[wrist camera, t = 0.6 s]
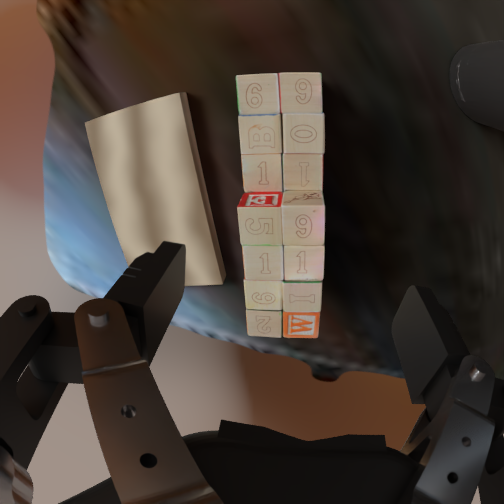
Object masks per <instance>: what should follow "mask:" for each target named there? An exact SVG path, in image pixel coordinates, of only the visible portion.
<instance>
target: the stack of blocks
mask: <svg viewBox="0 0 504 504" xmlns="http://www.w3.org/2000/svg"><path fill="white" fill-rule="evenodd" d="M236 87H237V100H238V110H239V116H238V121H239V133H240V146H241V161H242V173H243V184H244V190H245V193H244V194H243V196H242V198H241V200H240V202H239V204H238V207H237V210H238V220H239V230H240V241H241V245H242V251H243V263H244V274H245V277H244V290H245V301H246V319H247V331H248V335H249V336H264V337H279V338H280V337H282V336H283V337H287V338H317V337H318V332H319V320H320V311H321V298H322V280H323V278H324V258H325V247H324V242H325V203H324V197H323V192H322V191H323V154H324V153H325V115H324V113H323V106H322V74H321V73H308V72H297V73H272V74H251V75H237V76H236Z"/></svg>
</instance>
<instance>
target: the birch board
mask: <svg viewBox="0 0 504 504" xmlns="http://www.w3.org/2000/svg"><path fill="white" fill-rule="evenodd" d="M85 126H86V130H87V134H88V138H89V142H90V146H91V150H92V154H93V158H94V162H95V165H96V169H97V172H98V176H99V180H100V183H101V186H102V190H103V193H104V196H105V200H106V203H107V206H108V209H109V212H110V215H111V218H112V221H113V224H114V227H115V230H116V233H117V236H118V239H119V242H120V245H121V247H122V250H123V253H124V256H125V258H126V261H127V264H128V266H129V265H130V264H131V263H132V262H133V261H134V259H135V258H137V257H139V256H140V255H142V254H144V253H146V252H150V253H154V252H155V251H156V250H157V248H158V247H159V246H160V244H161V243H162V242H163V241H169V242H174V243H180V244H185V246H186V265H185V286H197V285H218V284H223V282H224V280H225V277H226V272H225V267H224V263H223V259H222V255H221V251H220V246H219V242H218V238H217V234H216V229H215V225H214V221H213V216H212V212H211V207H210V203H209V199H208V194H207V190H206V185H205V180H204V176H203V171H202V167H201V162H200V157H199V153H198V148H197V143H196V138H195V134H194V129H193V124H192V119H191V114H190V109H189V104H188V99H187V94H186V92H183V93H176V94H173V95H169V96H165V97H161V98H158V99H154V100H151V101H147V102H144V103H141V104H138V105H134V106H131V107H128V108H125V109H122V110H119V111H116V112H113V113H110V114H107V115H104V116H102V117H99V118H96V119H94V120H91V121H88V122H86V123H85Z"/></svg>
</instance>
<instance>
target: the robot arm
mask: <svg viewBox="0 0 504 504" xmlns="http://www.w3.org/2000/svg"><path fill="white" fill-rule="evenodd" d="M450 85H451V90H452V93H453V95H454V98H455V100H456V102H457V104H458V106H459V107H460V108H461V110H462V111H463V112H464V113H465V114H466V115H467V116H468V117H469V118H470V119H472V120H474V121H475V122H477V123H480V124H483V125H486V126H490V127H493V128H495V129H498V130H501V131H504V40H502V41H493V42H484V43H477V44H471V45H467V46H465V47H463V48H461V49H460V50H459V51H458V52H457V53H456V54H455V56H454V57H453V60H452V62H451V66H450ZM185 265H186V246H185V244H180V243H174V242H169V241H163V242H162V243H161V244H160V246H159V247H158V248H157V250H156V251H155V252H154V253H150V252H146V253H144V254H142V255H140V256H139V257H137V258H135V259H134V261H133V262H132V263H131V264H130V265H129V268H127V269H126V270H125V272H124V273H123V275H121V276H120V278H119V279H118V280H117V281H116V283H115V284H114V285H113V286H112V288H111V289H110V290H109V291H108V293H107V294H106V295H105V297H104V298H98V299H92V300H89V301H87V302H85V303H83V304H82V305H80V306H79V307H78V309H77V310H76V312H75V313H68V312H51V309H50V306H49V303H48V301H47V300H46V299H45V298H43V297H41V296H36V295H30V296H25V297H23V298H20V299H18V300H16V301H15V302H14V303H13V304H12V305H11V306H10V307H9V308H8V309H7V310H6V312H5V313H4V314H3V315H2V316H1V317H0V504H32V498H33V482H32V479H31V477H30V475H29V473H28V472H27V468H28V466H29V464H30V461H31V459H32V457H33V454H34V452H35V450H36V448H37V445H38V443H39V441H40V439H41V437H42V435H43V433H44V431H45V429H46V426H47V424H48V422H49V420H50V418H51V416H52V414H53V412H54V410H55V408H56V406H57V404H58V402H59V400H60V398H61V396H62V394H63V392H64V390H65V389H66V387H67V385H68V383H77V384H84V388H85V392H86V396H87V400H88V404H89V408H90V412H91V416H92V419H93V422H94V426H95V430H96V433H97V436H98V440H99V443H100V446H101V449H102V452H103V455H104V458H105V461H106V464H107V467H108V470H109V473H110V475H111V477H110V478H108V479H106V480H104V481H103V482H101V483H99V484H97V485H95V486H93V487H91V488H89V489H87V490H85V491H83V492H81V493H79V494H77V495H75V496H73V497H71V498H70V499H67V500H65V501H63V502H61V503H58V504H471V502H472V500H473V497H474V494H475V492H476V489H477V486H478V488H479V494H480V501H481V504H504V437H503V434H504V380H501V379H498V378H495V375H494V372H493V370H492V368H491V367H490V365H489V364H488V363H487V362H486V361H485V360H483V359H482V358H480V357H477V356H474V355H470V353H469V351H468V349H467V347H466V345H465V343H464V341H463V339H462V337H461V335H460V333H459V332H458V331H457V328H456V326H455V324H453V320H452V318H451V317H450V315H449V313H448V312H447V311H446V310H445V309H444V308H443V307H442V306H441V305H440V304H439V302H438V301H437V299H436V297H435V295H434V294H433V292H432V290H431V289H430V288H426V287H420V286H414V285H412V286H410V287H409V288H408V289H407V291H406V294H405V296H404V298H403V300H402V302H401V305H400V307H399V309H398V311H397V313H396V315H395V317H394V320H393V323H392V336H393V339H394V342H395V346H396V349H397V352H398V355H399V359H400V362H401V365H402V369H403V372H404V376H405V379H406V383H407V387H408V390H409V394H410V398H411V401H412V404H425V405H426V408H425V409H424V411H423V412H422V413H421V415H420V416H419V418H418V420H417V422H416V424H415V426H414V428H413V430H412V432H411V433H410V435H409V437H408V439H407V440H406V442H405V444H404V446H403V448H402V449H401V450H400V451H398V450H395V449H392V448H390V447H386V441H385V435H349V434H348V435H344V436H338V437H333V438H327V439H320V440H315V441H305V440H301V439H298V438H295V437H292V436H288V435H286V434H283V433H280V432H277V431H274V430H271V429H269V428H266V427H262V426H255V425H249V424H243V423H237V422H232V421H226V420H221V423H220V427H219V431H205V432H198V433H193V434H189V435H186V436H183V437H182V436H181V435H180V433H179V431H178V429H177V427H176V425H175V423H174V421H173V419H172V417H171V415H170V412H169V410H168V408H167V406H166V404H165V402H164V400H163V397H162V395H161V394H160V391H159V389H158V386H157V384H156V382H155V380H154V377H153V375H152V373H151V370H150V368H149V366H150V364H151V362H152V360H153V357H154V356H155V353H156V351H157V349H158V347H159V345H160V343H161V340H162V339H163V336H164V334H165V332H166V330H167V328H168V326H169V324H170V322H171V320H172V318H173V316H174V313H175V311H176V309H177V307H178V305H179V303H180V301H181V299H182V296H183V292H184V286H185ZM27 365H28V366H27ZM26 366H27V368H26ZM25 368H26V369H25ZM24 369H25V371H24ZM23 371H24V372H23ZM22 373H23V374H22ZM21 374H22V375H21ZM20 376H21V377H20ZM19 377H20V379H19ZM18 379H19V381H18ZM17 381H18V382H17Z"/></svg>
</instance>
